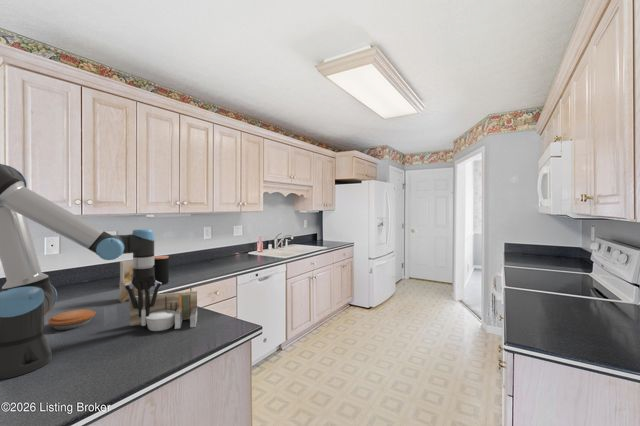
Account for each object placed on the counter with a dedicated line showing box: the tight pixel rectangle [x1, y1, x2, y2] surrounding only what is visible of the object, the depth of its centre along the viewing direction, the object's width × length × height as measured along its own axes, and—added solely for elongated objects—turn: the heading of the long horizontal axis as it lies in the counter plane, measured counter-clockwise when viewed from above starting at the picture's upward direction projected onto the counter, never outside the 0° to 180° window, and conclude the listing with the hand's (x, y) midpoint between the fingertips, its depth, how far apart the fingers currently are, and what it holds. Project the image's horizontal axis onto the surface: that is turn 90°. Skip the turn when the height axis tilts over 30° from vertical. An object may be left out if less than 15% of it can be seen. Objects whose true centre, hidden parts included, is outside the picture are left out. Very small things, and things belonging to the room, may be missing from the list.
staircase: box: [119, 259, 145, 303], centre depth 159 cm, size 8×12×26 cm
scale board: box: [129, 290, 198, 327], centre depth 127 cm, size 1×26×12 cm, turn 110°
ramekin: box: [146, 310, 175, 332], centre depth 121 cm, size 11×11×5 cm
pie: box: [47, 308, 96, 331], centre depth 124 cm, size 16×16×5 cm
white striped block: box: [189, 307, 198, 328], centre depth 125 cm, size 10×2×5 cm, turn 20°
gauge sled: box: [174, 295, 183, 330], centre depth 124 cm, size 10×2×11 cm, turn 20°
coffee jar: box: [152, 255, 170, 286], centre depth 195 cm, size 11×11×18 cm
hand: (144, 324), depth 119 cm, fingers closed
